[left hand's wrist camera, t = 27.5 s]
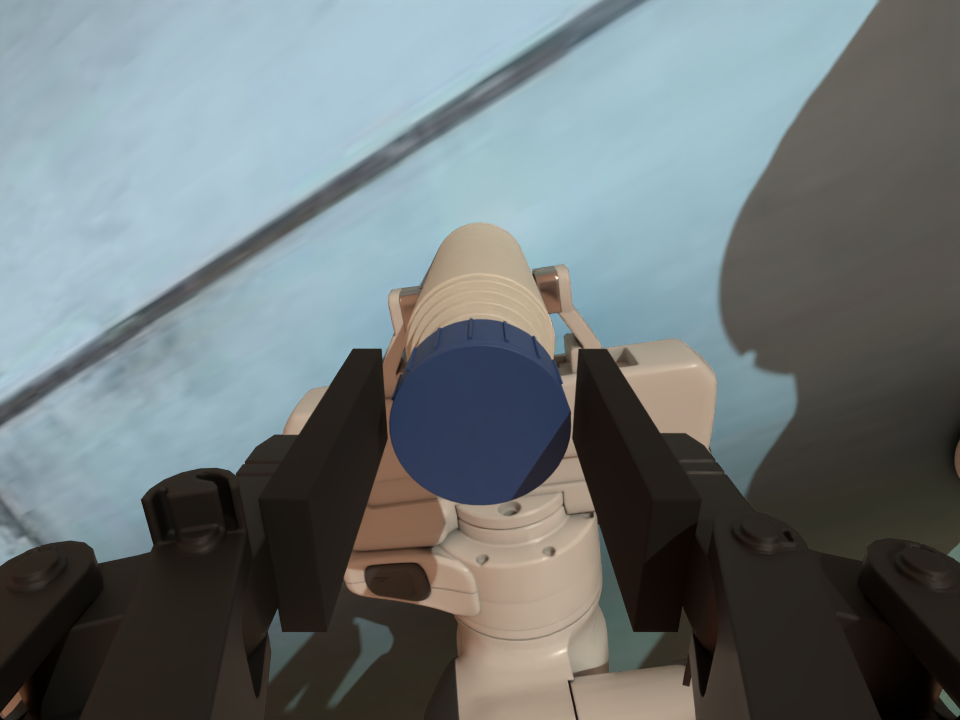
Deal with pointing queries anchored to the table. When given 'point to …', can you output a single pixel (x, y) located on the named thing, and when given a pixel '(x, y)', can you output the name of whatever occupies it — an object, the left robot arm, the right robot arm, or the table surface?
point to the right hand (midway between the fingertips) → (476, 279)
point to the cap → (480, 413)
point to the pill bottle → (957, 459)
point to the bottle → (480, 287)
